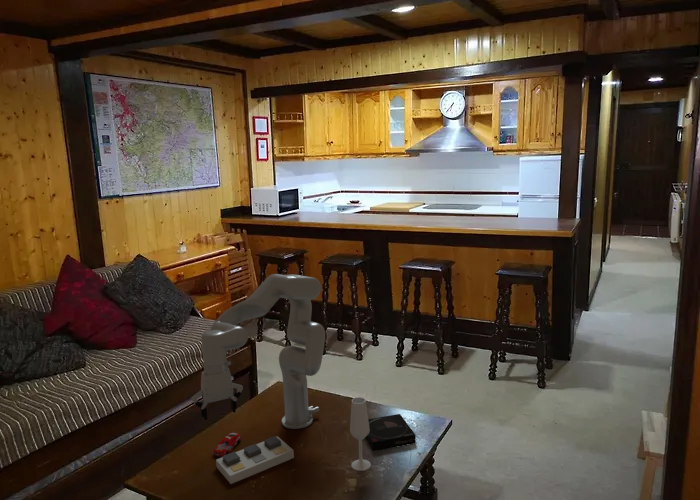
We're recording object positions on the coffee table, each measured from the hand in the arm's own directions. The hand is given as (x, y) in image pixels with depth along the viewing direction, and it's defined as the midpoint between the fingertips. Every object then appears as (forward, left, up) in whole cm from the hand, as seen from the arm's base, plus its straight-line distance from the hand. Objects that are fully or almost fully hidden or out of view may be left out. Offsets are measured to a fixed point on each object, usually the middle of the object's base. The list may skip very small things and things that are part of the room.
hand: (219, 414), depth 182 cm
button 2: (-18, +2, -19) cm, 26 cm away
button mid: (-10, +2, -19) cm, 21 cm away
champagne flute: (-38, +29, -20) cm, 52 cm away
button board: (-10, +4, -20) cm, 23 cm away
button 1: (-2, +2, -19) cm, 19 cm away
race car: (-6, -11, -21) cm, 24 cm away
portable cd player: (-57, +19, -21) cm, 64 cm away
